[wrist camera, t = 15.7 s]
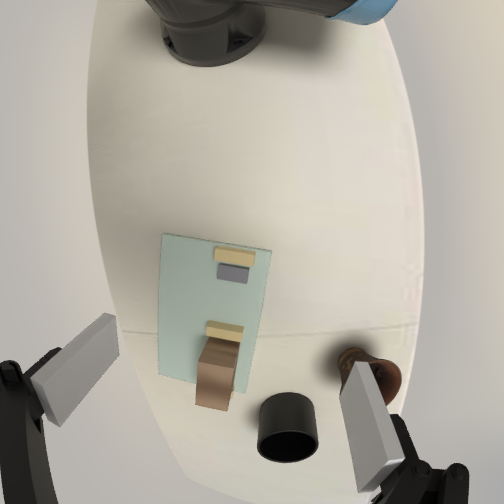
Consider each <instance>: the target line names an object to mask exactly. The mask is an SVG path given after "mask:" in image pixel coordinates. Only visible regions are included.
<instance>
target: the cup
mask: <svg viewBox="0 0 504 504" xmlns="http://www.w3.org/2000/svg"><path fill="white" fill-rule="evenodd" d="M355 361H357V362H368V364H369V366H370V368H371V371H372V373H373V375H374V378H375V380H376V383H377V385H378V387H379V390H380V392H381V395H382V397H383V400H384V402H385V405H386V406H387V405H388V404H389V403H390V402H391V401H392V400H393V399H394V398H395V396H396V395H397V393H398V391H399V389H400V386H401V382H402V376H401V372H400V369H399V368H398V366H397V365H396V364H395V363H393V362H391V361H389V360H385V359H378V358H375V357H373V356H370V355H369V354H367V353H366V352H365V351H364V350H362V349H360V348H351V349H348V350H346V351H345V352H344V353H343V354H342V355H341V357H340V358H339V361H338V368H339V370H340V373H341V380H342V386H341V390H340V395H341V393H342V391H343V389H344V386H345V384H346V382H347V380H348V377H349V375H350V373H351V370H352V368H353V365H354V363H355Z"/></svg>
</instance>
